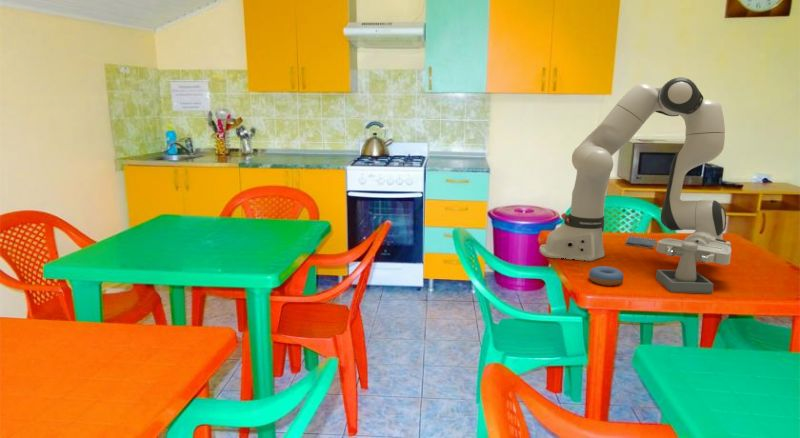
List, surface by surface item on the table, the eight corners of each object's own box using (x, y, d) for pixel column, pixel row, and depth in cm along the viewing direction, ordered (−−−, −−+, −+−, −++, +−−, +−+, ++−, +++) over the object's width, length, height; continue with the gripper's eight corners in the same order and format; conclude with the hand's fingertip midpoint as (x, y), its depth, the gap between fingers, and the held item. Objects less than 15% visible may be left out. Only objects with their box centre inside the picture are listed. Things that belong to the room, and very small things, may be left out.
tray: (670, 292, 157) (671, 282, 157) (655, 278, 169) (656, 269, 168) (712, 293, 156) (713, 283, 156) (694, 279, 168) (695, 270, 167)
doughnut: (604, 273, 173) (605, 260, 172) (630, 284, 165) (631, 270, 163) (581, 280, 169) (582, 267, 167) (606, 292, 160) (607, 278, 159)
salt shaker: (699, 287, 159) (705, 245, 156) (679, 287, 160) (684, 245, 156) (689, 281, 165) (695, 240, 162) (670, 280, 165) (675, 239, 162)
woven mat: (656, 243, 209) (657, 238, 208) (653, 250, 200) (654, 245, 199) (628, 240, 214) (628, 235, 213) (623, 246, 205) (624, 241, 205)
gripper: (664, 231, 176) (651, 240, 166) (736, 243, 163) (726, 253, 153) (662, 250, 178) (648, 259, 168) (733, 263, 164) (723, 274, 154)
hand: (686, 256), depth 160 cm, fingers open, 8 cm apart
